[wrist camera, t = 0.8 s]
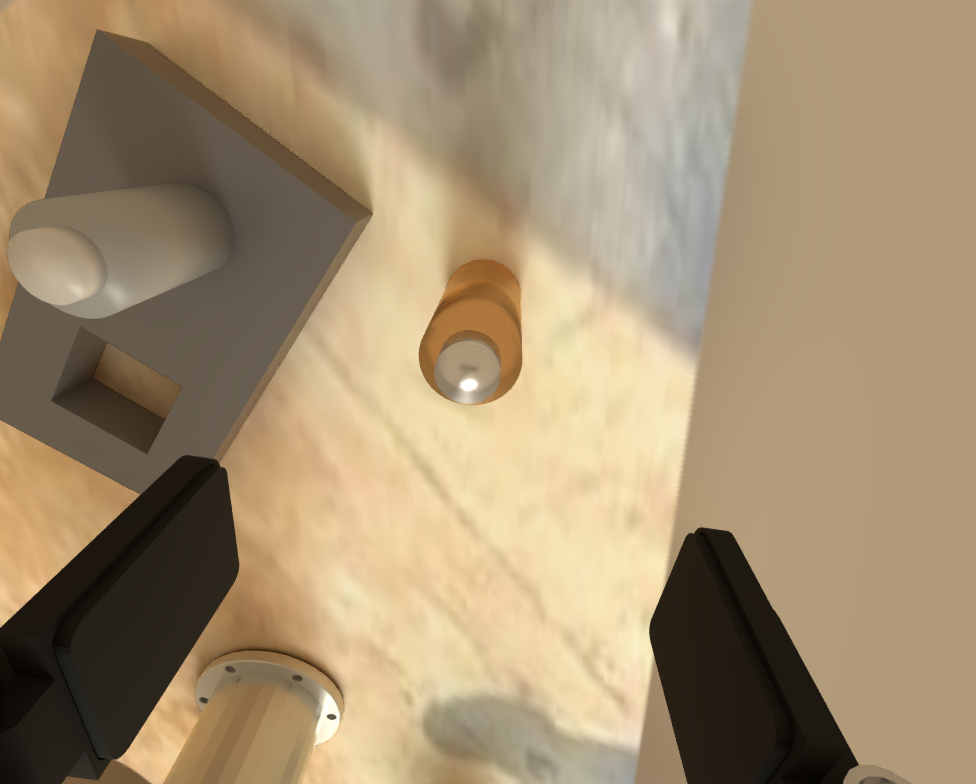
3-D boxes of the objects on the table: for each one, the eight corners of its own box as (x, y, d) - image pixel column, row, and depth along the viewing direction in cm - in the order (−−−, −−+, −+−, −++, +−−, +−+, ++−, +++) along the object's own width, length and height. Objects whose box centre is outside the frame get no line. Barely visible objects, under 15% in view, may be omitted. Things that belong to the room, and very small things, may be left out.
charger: (205, 485, 34) (78, 626, 24) (25, 385, 31) (-202, 499, 21) (373, 213, 25) (282, 260, 16) (146, 42, 23) (-139, -33, 13)
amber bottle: (490, 345, 28) (478, 440, 19) (432, 303, 27) (391, 382, 18) (535, 290, 27) (545, 366, 18) (475, 243, 26) (454, 298, 17)
